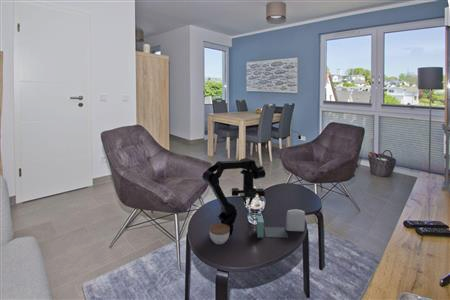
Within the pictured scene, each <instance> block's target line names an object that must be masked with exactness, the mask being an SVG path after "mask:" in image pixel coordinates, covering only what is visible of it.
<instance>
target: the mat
mask: <svg viewBox="0 0 450 300" xmlns="http://www.w3.org/2000/svg"><path fill="white" fill-rule="evenodd" d="M264 234H265V238H266V239H267V238H270V239H271V238H273V239H274V238H275V239H279V238H280V239H288V238H289V235H288V233H287V230H286V227H278V226H277V227H276V226H274V227H272V226H269V227H268V226H267V227H266V226H264Z"/></svg>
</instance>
